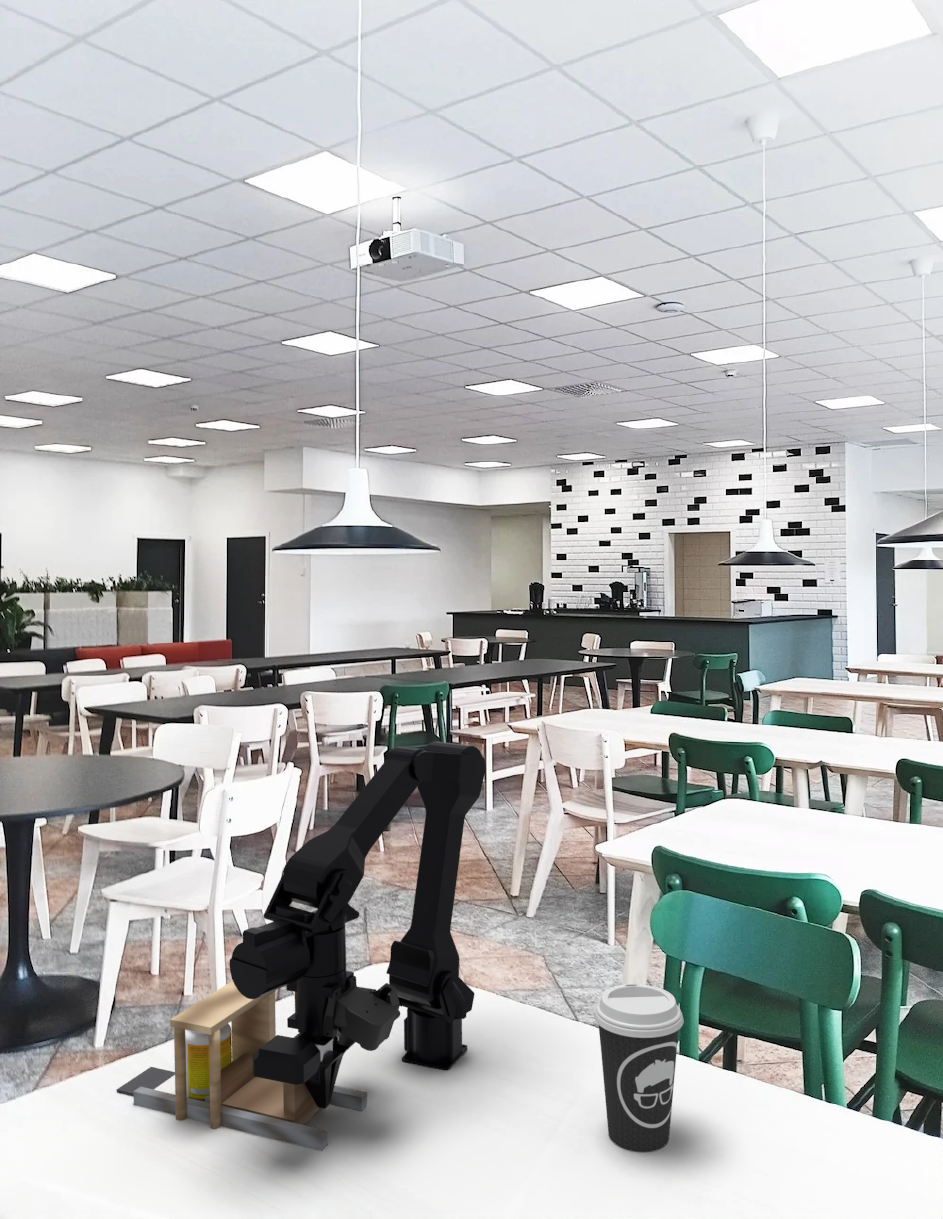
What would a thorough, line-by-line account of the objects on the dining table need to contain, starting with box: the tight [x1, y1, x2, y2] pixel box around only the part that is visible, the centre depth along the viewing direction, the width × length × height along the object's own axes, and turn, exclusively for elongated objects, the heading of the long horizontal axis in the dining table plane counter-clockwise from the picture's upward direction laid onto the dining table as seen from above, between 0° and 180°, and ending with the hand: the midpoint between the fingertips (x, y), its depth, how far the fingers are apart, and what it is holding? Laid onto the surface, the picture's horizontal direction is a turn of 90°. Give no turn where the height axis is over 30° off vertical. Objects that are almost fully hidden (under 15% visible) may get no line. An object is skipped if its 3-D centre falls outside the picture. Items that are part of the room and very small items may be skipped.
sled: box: [209, 1053, 322, 1125], centre depth 116 cm, size 11×7×5 cm, turn 67°
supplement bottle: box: [185, 1023, 232, 1103], centre depth 119 cm, size 6×6×10 cm
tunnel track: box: [133, 980, 368, 1152], centre depth 117 cm, size 25×12×12 cm, turn 67°
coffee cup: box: [593, 983, 685, 1153], centre depth 110 cm, size 10×10×15 cm
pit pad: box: [116, 1066, 175, 1097], centre depth 123 cm, size 4×6×1 cm, turn 157°
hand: (323, 1106), depth 113 cm, fingers closed, pressing on sled
